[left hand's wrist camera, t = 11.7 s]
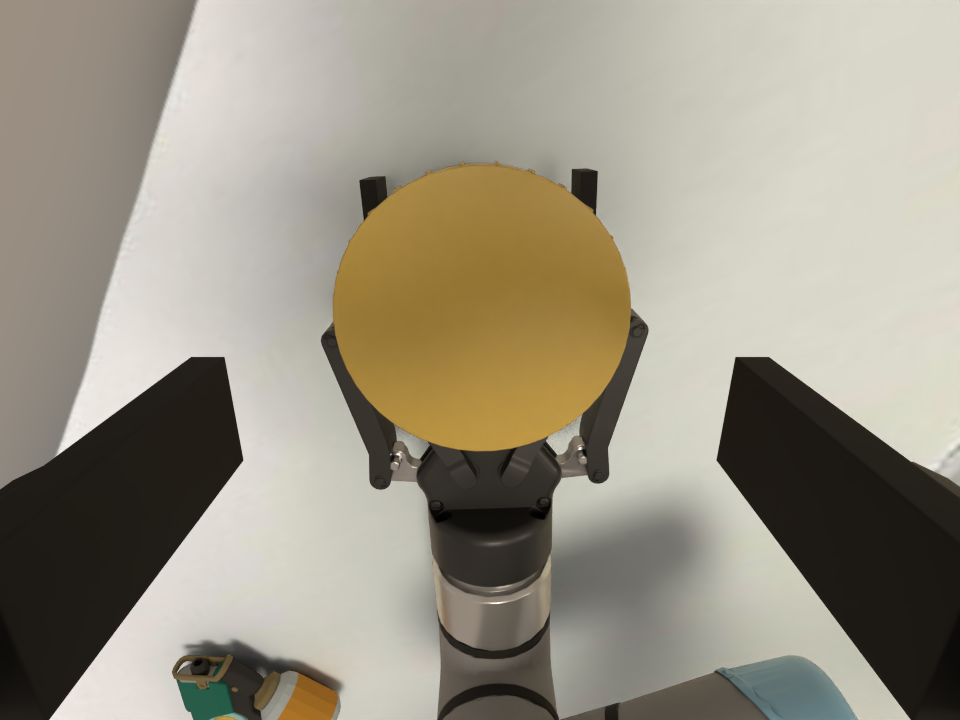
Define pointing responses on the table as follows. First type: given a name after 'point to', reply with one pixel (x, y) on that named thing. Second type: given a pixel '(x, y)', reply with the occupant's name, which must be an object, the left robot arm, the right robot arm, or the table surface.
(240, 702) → the spray gun
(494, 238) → the lid
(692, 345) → the table surface
